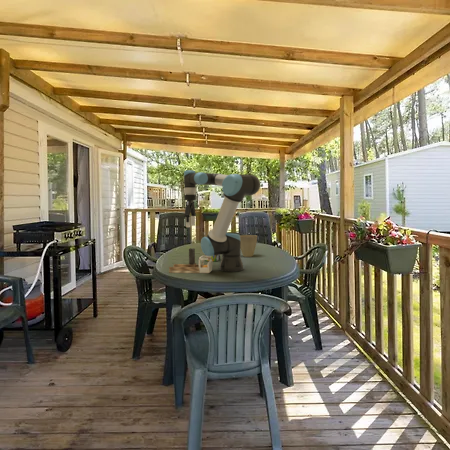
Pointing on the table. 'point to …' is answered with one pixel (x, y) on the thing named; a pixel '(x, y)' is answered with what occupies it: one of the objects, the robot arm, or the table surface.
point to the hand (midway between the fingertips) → (190, 226)
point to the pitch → (184, 269)
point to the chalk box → (213, 258)
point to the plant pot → (248, 244)
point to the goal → (203, 269)
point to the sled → (192, 258)
